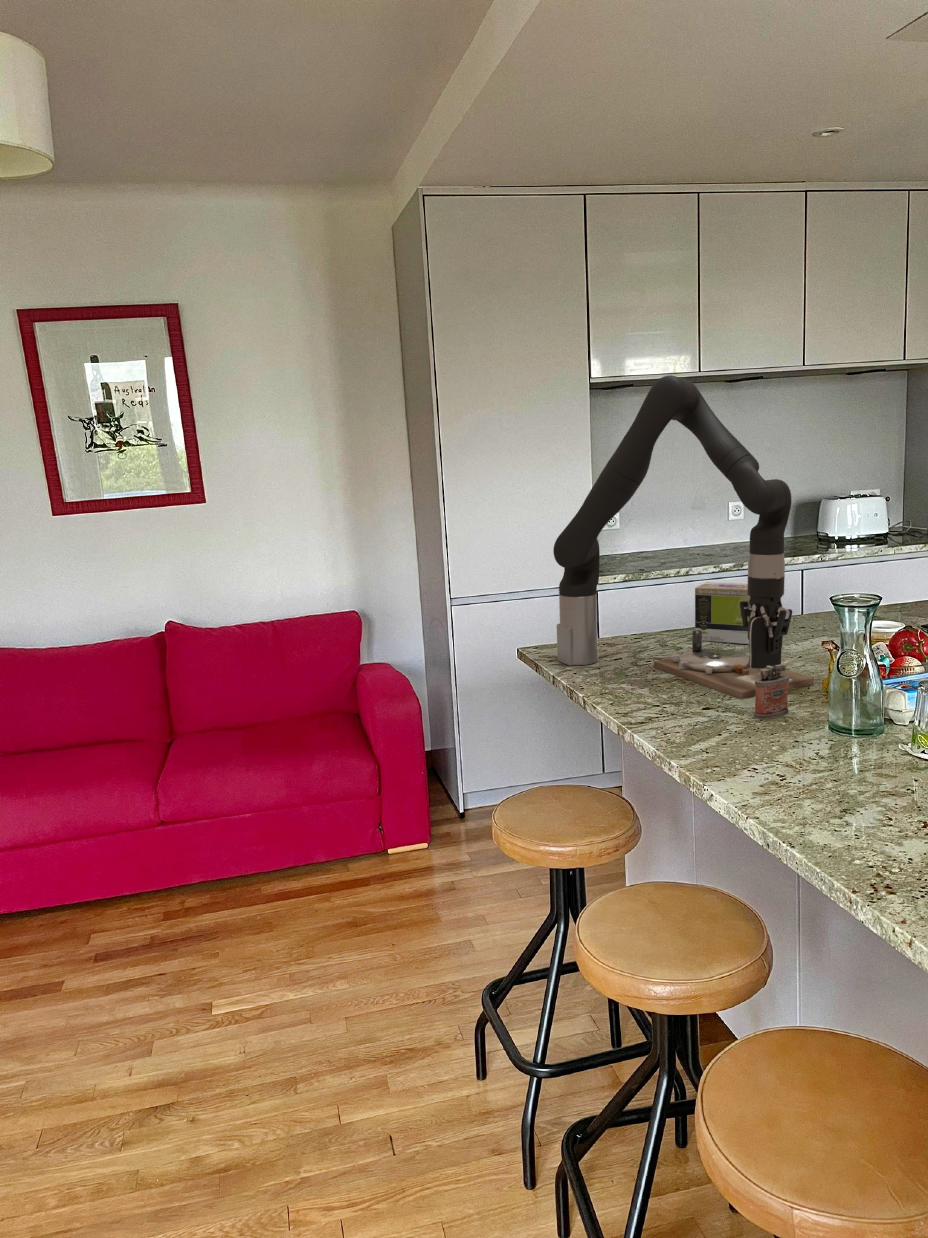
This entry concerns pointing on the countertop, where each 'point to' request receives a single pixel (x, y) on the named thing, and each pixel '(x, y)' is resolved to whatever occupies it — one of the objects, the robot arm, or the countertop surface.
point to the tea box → (721, 612)
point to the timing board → (731, 678)
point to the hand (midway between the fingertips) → (764, 650)
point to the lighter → (771, 693)
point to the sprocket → (711, 658)
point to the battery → (761, 644)
